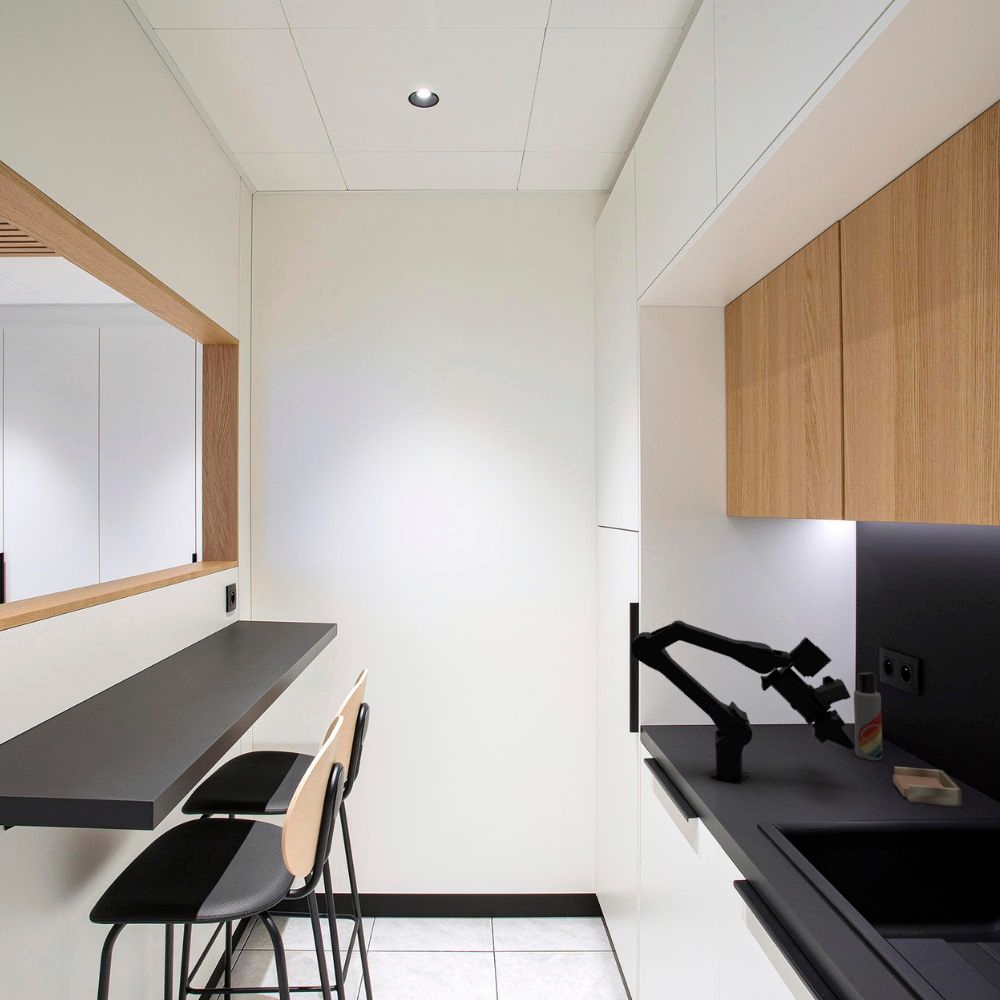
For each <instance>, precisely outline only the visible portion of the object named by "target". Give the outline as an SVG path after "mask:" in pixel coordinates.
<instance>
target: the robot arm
mask: <svg viewBox="0 0 1000 1000" xmlns="http://www.w3.org/2000/svg"><path fill="white" fill-rule="evenodd" d="M679 641H681V642H684V643H687V644H689V645H693V646H695V647H699V648H701V649H705V650H708V651H710V652H714V653H717V654H720V655H722V656H725V657H729V658H731V659H733V660H735V661H736V662H738V663H739V664H741V665H742V666H744V667H746V668H748V669H750V670H752V671H754V672H755V673H757V674H761V675H760V681H761V685H760V686H761V690H762V691H763V692H765V691H767V690H768V689H769V688H771V687H772V688H773V689H774V690H775V691H776V692H777V693H778V694H779V695H780V696H781V697H782V698H783V699H784V700H785V701H786V702H787V703H788V704H789V706H790V707H791V708H792V709H793V711H796V712H797V713H798V714H799V715H800V716H801V717H802V718H803V719H804V720H805V721H804V722H805V723H807V724H808V726H811V732H812V735H813V736H814V737H815V738H816V739H817V740H818V741H819V742H820V743H821V744H823V743H825V742H827V741H830V742H833V743H834V744H837V745H839V746H842V747H844V748H846V749H848V750H853V749H854V748H855V743H853V742H852V740H851V739H850V737H849V736H848V735H847V733H846V731H845V730H844V728H843V727H844V726H845V724H846V722H845V721H844V720H843V718H842V717H841V716H840V714H838V713H839V712H838V711H837V710H836V709H833V710H830V709H832V706H831V705H832V704H834V703H837V702H839V701H840V702H841V701H843V700H848V699H850V698H851V695H850V693H849V691H848V689H847V686H846V685H845V683H844V681H843V680H842V679H840V678H835V679H834V678H833V677H832V676H830V675H826V676H823V677H822V684H820V685H819V686H818V687H817V686H816V687H814V686H813V685H812V684H808V683H807V682H806V681H804V680H803V679H802V677H800V675H801V676H803V678H809V677H810V678H814V676H816V675H817V674H818V673H819V672H820V671H821V670H823V669H824V668H825V667H826V666H827V665H828V664H830V663H831V662H832V661H833V660H832V659H831V658H830V657H829V655H827V653H825V651H824V650H822V649H821V648H820V647H819V646H818V645H815V643H813V641H811V640H810V639H809V638H808V637H804V638H802V639H801V640H800V642H799V643H798V644H797V645H796V646H795V647H793V649H792V650H790V652H788V651H785V650H778V649H773V648H772V647H771V646H770V645H769V644H767V643H764V642H760V641H752V640H751V641H750V640H741V639H734V638H731V637H728V636H725V635H721V634H719V633H716V632H712V631H710V630H706V629H704V628H700V627H698V626H694V625H692V624H690V623H689V624H688V623H686V622H684V621H683V620H679V619H677V620H674V621H672V622H671V623H670V624H667V625H665V626H662V627H661V628H657V629H655V630H653V631H651V632H649V631H643V632H640V633H638V634H637V635H636V636H635V637H634V639H633V641H632V643H631V648H630V649H631V654H632V656H633V657H634V658H635V659H636V660H637V661H639V662H641V663H642V664H644V665H645V666H647V667H648V668H650V669H653V670H655V671H656V672H659V673H660V674H661V675H662V676H664V677H665V678H666V679H667V680H668V681H669V682H671V683H672V684H673V685H674V686H675V687H676V688H677V689H679V691H681V692H682V693H683V694H684V695H685V696H686V697H687V698H689V700H690V701H692V702H693V703H694V704H695V705H696V706H697V707H698V708H699V709H701V710H702V712H704V713H705V714H706V715H707V716H708V717H709V718H710V719H711V721H712V722H713V724H714V725H715V726H716V728H717V730H716V731H715V732H714V746H715V747H714V749H715V752H714V753H715V755H714V757H715V770H714V771H713V772H712V773H710V775H709V777H710V778H712V779H717V780H721V781H725V782H730V783H735V784H740V783H742V782H743V781H744V780H745V779H746V778H748V776H749V772H747V771H744V768H743V767H744V765H743V764H744V760H743V750H744V747H745V746H747V745H748V744H750V742H751V741H752V739H753V730H752V726H751V722H750V720H749V718H748V713H747V712H746V711H743V710H742V709H740V708H739V707H738V706H737V704H736V703H735V702H734V701H732V700H731V701H730V703H729V705H728V704H726V703H724V702H722V701H721V700H720V699H718V698H717V697H716V696H715V695H714V694H712V692H710V691H709V690H708V689H707V688H705V686H703V685H702V684H701V683H700V682H699V681H698V680H697V679H696V678H694V677H693V676H692V675H691V674H690V673H689V672H688V671H687V670H686V669H684V667H682V666H681V665H680V664H678V662H676V660H674V659H673V658H672V656H671V655H670V654H669V652H668V650H666V649H667V648H668V647H670V646H671V645H673V644H675V643H676V642H679ZM792 667H793V668H794V669H795V670H796V671H797V672H798V673H799V674H800V675H799V674H797V672H795V670H794V669H792ZM767 674H768V675H767Z"/></svg>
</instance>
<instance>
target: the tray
mask: <svg viewBox="0 0 1000 1000" xmlns="http://www.w3.org/2000/svg"><path fill="white" fill-rule="evenodd" d="M894 775H905V776H917V777H930V778H936V779H937V780H938V781H939V782H940V783H941V784H942V786H943V787H931V786H919V785H909V797H906V798H907V800H908V801H909V802H910V803H918V804H927V805H937V806H940V805H941V806H949V807H962V804H963V803H962V789H961V788H960V787H959V786H958V785H957V784H956V783H955V782H954V781H953V780H952V779H951V778H950V777H949V775H948V774H947V773H945V771H944V770H942V769H934V768H933V769H931V768H918V767H917V768H916V767H906V766H905V767H903V766H894Z"/></svg>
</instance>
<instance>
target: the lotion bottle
mask: <svg viewBox="0 0 1000 1000" xmlns="http://www.w3.org/2000/svg"><path fill="white" fill-rule="evenodd" d="M876 677H877V676H876V674H875V672H874V671H873V672H872V671H861V672H859V673H857V690H854V691H853V710H854V712H853V715H854V717H853V718H854V746H855V747H854V748H855V750H854V751H855V756H856V757H857V758H860V759H863V760H866V759H867V760H868V761H879V760H882V758H883V726H882V724H883V723H882V698H881V693H880V692H878V691H877V686H876V685H877V679H876Z"/></svg>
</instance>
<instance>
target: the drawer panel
mask: <svg viewBox="0 0 1000 1000" xmlns="http://www.w3.org/2000/svg"><path fill="white" fill-rule="evenodd" d="M892 780H893V783H894V785H895V786H896V788H897V789H898V790H899V793H901V795H902V796H903V798H907V797H909V785H919V786H931V787H943V786H942V784H941V783H940V782H939V781H938V780H937V779H936V778H930V777H917V776H905V775H895V774H893V775H892Z"/></svg>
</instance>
